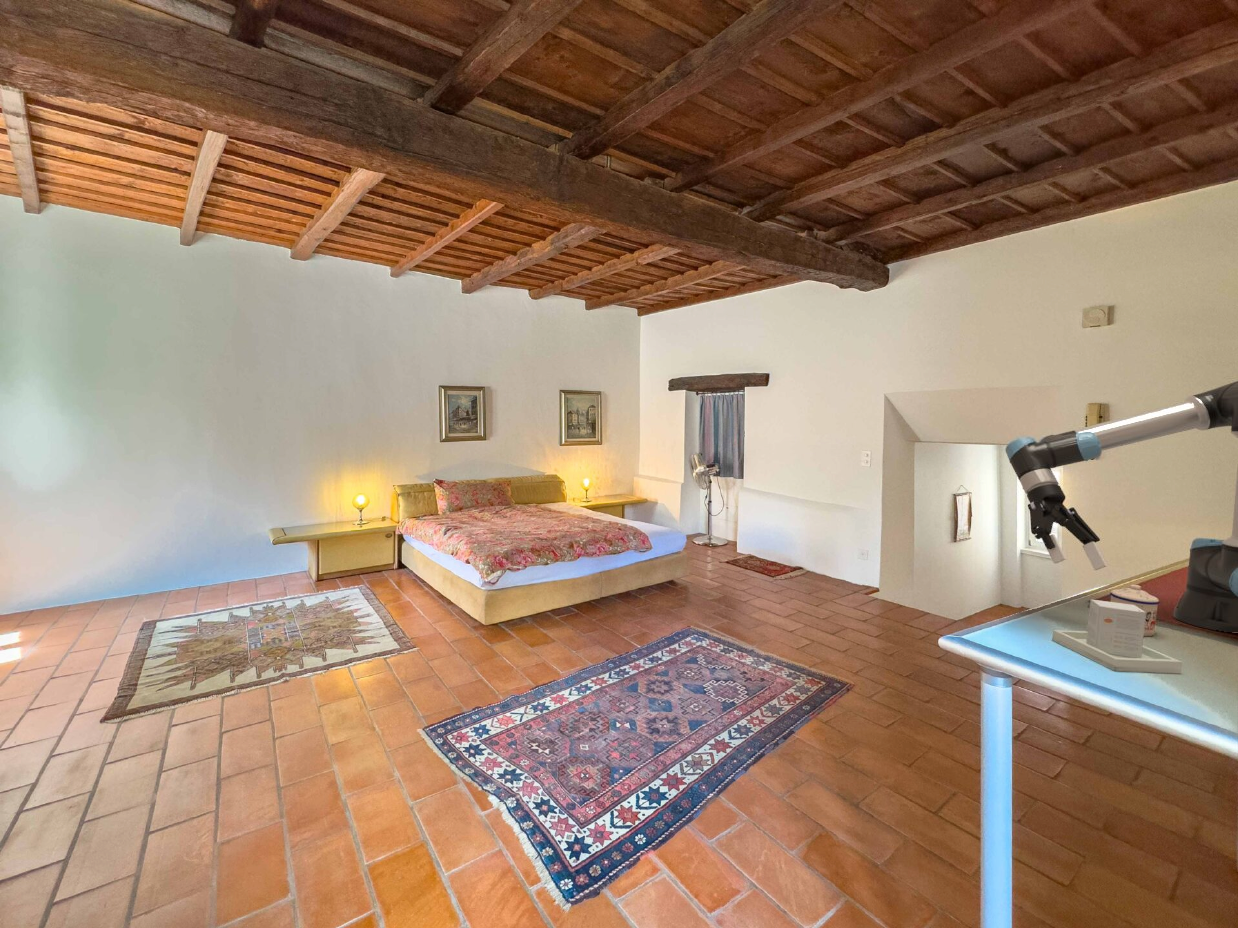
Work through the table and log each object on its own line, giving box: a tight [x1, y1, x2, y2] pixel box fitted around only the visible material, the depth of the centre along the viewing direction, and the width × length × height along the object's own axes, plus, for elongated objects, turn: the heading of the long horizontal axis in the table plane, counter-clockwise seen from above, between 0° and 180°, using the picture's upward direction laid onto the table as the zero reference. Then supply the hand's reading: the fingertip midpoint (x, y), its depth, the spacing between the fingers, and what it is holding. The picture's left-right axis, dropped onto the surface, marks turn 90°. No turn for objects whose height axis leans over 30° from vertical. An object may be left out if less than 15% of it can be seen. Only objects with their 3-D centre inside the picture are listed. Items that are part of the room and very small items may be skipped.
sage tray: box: [1051, 629, 1183, 674], centre depth 121 cm, size 14×16×2 cm
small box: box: [1086, 599, 1146, 658], centre depth 120 cm, size 8×6×10 cm
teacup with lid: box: [1109, 584, 1160, 637], centre depth 138 cm, size 12×9×12 cm
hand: (1080, 564), depth 132 cm, fingers open, 13 cm apart
